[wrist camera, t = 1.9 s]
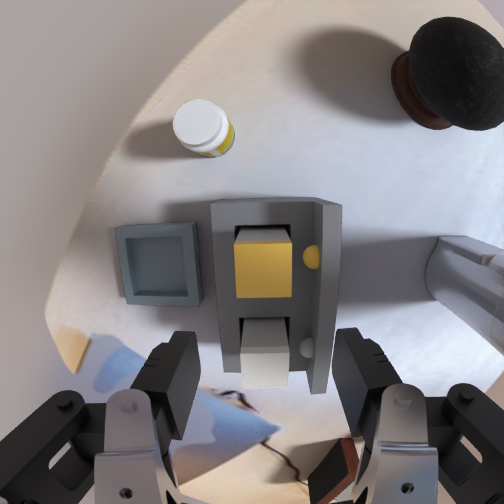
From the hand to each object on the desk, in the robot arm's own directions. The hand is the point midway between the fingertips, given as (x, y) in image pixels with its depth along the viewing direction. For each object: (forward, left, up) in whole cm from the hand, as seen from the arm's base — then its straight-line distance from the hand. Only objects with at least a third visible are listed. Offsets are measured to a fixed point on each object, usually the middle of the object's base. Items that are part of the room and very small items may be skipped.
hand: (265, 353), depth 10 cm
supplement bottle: (-11, -5, -22) cm, 25 cm away
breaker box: (+5, 0, -21) cm, 22 cm away
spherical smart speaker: (-19, +22, -22) cm, 37 cm away
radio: (+44, +13, -22) cm, 50 cm away
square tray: (+3, -12, -21) cm, 25 cm away
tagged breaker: (0, 0, -18) cm, 18 cm away
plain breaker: (+9, 0, -18) cm, 20 cm away
